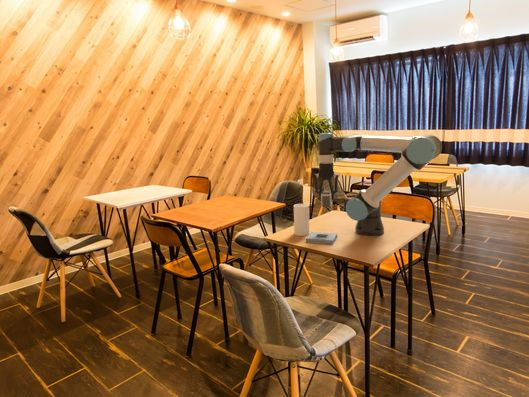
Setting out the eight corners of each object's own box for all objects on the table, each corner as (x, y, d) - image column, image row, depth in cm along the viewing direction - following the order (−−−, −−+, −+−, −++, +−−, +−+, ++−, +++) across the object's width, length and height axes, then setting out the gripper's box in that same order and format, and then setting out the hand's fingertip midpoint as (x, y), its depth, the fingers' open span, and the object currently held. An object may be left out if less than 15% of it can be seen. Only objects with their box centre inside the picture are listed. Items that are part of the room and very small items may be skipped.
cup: (308, 235, 211) (308, 207, 208) (293, 235, 213) (292, 206, 209) (310, 231, 219) (309, 203, 216) (295, 231, 221) (294, 203, 217)
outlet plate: (337, 237, 207) (337, 233, 206) (332, 244, 196) (332, 240, 195) (311, 235, 212) (311, 231, 211) (305, 242, 201) (305, 238, 200)
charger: (331, 205, 213) (331, 191, 211) (329, 207, 209) (329, 192, 207) (323, 205, 214) (323, 190, 213) (322, 206, 210) (322, 192, 209)
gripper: (343, 161, 207) (343, 204, 212) (312, 161, 213) (313, 203, 218) (341, 163, 200) (341, 207, 205) (308, 163, 206) (309, 206, 211)
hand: (326, 205), depth 211 cm, fingers closed on charger, 4 cm apart
